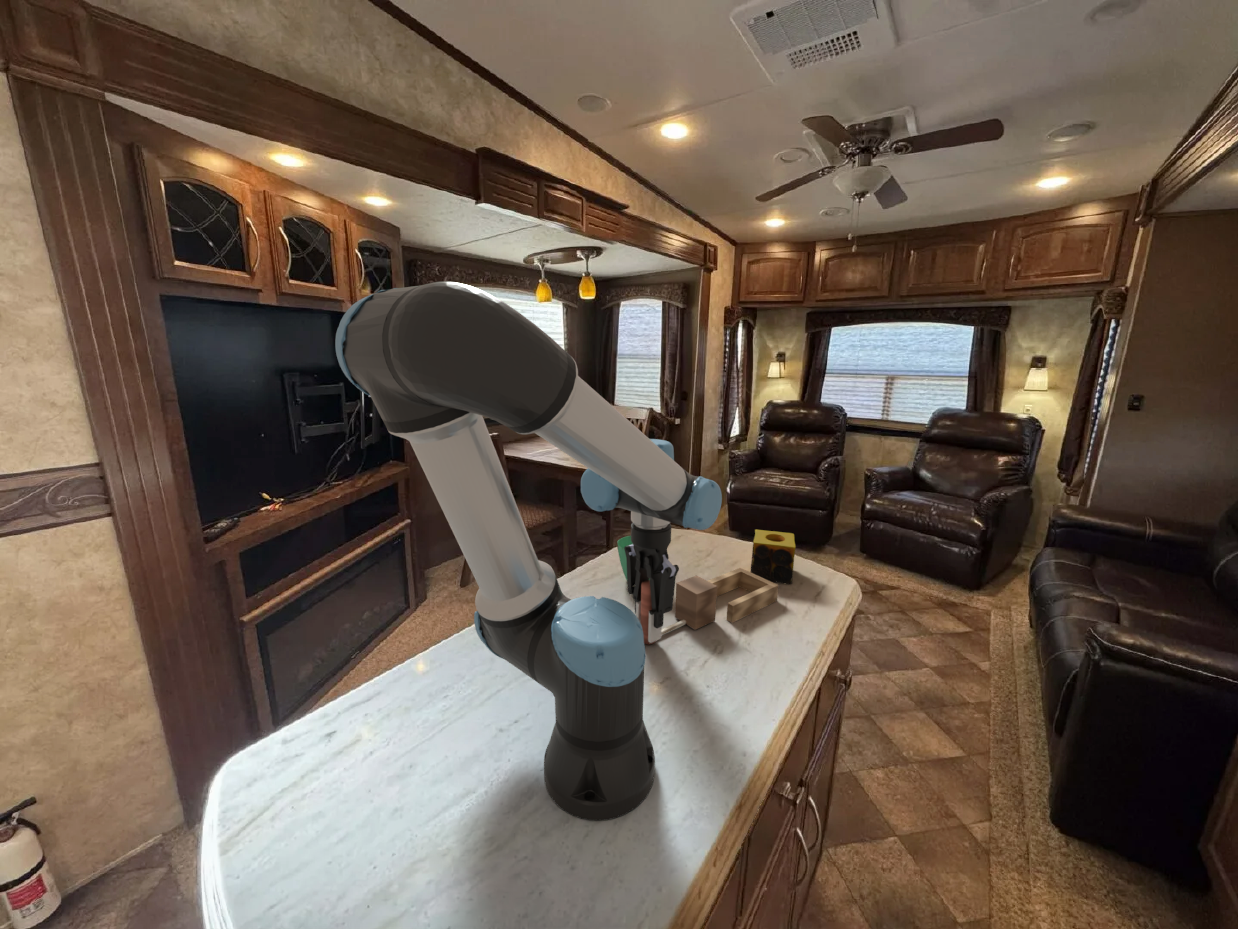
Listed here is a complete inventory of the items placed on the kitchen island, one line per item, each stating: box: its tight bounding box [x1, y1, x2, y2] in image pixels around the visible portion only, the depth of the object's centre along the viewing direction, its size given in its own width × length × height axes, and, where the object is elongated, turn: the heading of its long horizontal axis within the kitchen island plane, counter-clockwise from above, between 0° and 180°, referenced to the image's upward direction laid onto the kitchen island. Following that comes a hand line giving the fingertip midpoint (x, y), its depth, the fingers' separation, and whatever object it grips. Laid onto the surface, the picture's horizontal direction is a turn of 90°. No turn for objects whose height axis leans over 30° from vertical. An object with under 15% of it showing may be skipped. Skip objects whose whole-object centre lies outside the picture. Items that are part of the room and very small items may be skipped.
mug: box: [616, 535, 650, 581], centre depth 118 cm, size 15×10×10 cm
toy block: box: [750, 529, 797, 585], centre depth 123 cm, size 10×10×10 cm
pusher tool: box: [640, 575, 718, 645], centre depth 98 cm, size 18×6×12 cm, turn 127°
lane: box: [707, 567, 779, 624], centre depth 110 cm, size 16×11×4 cm
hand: (648, 635), depth 95 cm, fingers closed on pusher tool, 3 cm apart
